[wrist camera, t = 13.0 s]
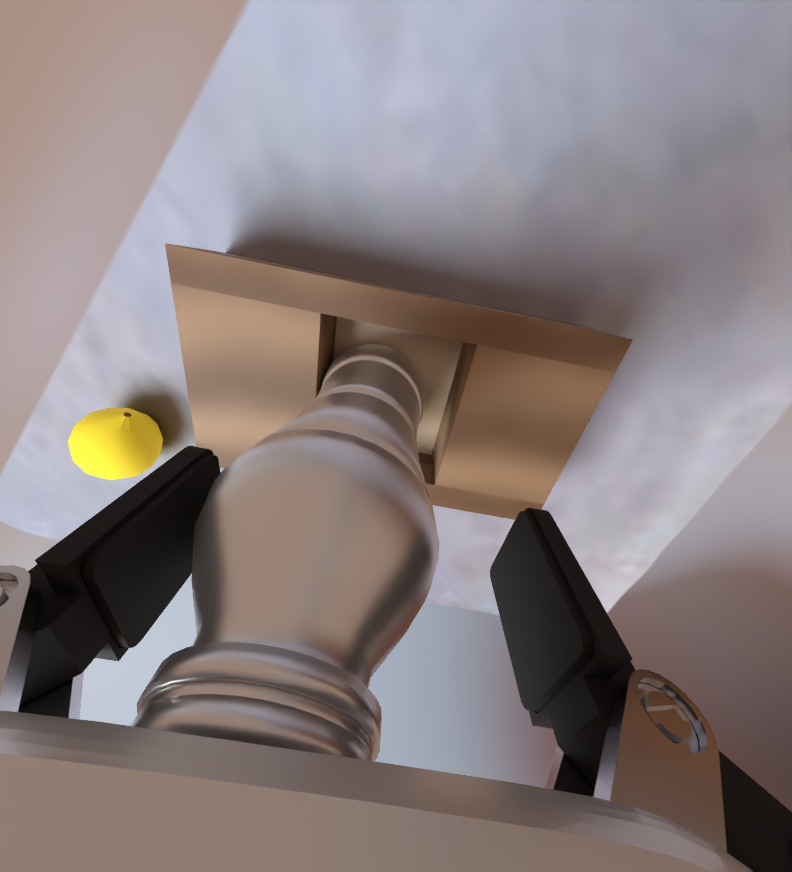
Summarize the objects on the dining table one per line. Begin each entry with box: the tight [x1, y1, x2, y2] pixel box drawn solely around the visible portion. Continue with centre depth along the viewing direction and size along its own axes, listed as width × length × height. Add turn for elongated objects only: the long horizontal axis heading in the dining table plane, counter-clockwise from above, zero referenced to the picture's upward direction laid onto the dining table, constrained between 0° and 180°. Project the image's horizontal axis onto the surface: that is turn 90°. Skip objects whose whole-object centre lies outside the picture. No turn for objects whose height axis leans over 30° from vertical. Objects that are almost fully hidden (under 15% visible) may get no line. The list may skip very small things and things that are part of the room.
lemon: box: [68, 408, 163, 480], centre depth 23 cm, size 7×5×5 cm
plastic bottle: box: [131, 344, 439, 762], centre depth 12 cm, size 6×7×20 cm
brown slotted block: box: [165, 244, 632, 520], centre depth 20 cm, size 13×24×5 cm, turn 80°
